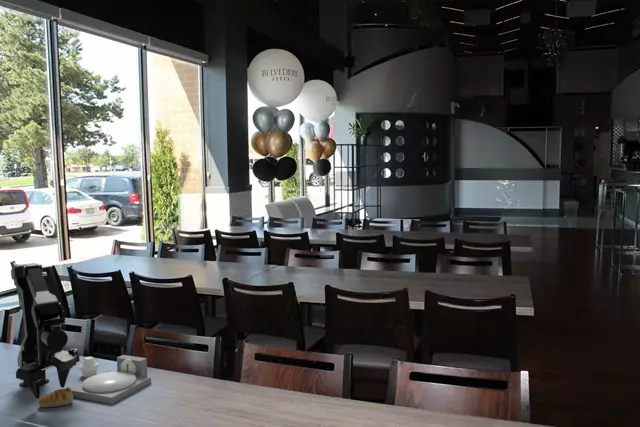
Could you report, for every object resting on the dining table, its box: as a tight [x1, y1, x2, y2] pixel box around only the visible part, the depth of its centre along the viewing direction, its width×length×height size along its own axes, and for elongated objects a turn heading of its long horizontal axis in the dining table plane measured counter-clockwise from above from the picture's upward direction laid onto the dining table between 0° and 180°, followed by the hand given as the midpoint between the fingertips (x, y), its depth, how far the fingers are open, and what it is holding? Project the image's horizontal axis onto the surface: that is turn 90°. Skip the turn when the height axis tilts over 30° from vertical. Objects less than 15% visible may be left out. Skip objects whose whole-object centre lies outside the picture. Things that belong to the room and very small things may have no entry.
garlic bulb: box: [79, 356, 100, 378], centre depth 193 cm, size 6×6×7 cm
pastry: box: [38, 387, 74, 408], centre depth 170 cm, size 9×7×4 cm
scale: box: [69, 354, 152, 405], centre depth 183 cm, size 18×21×7 cm
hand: (50, 392), depth 171 cm, fingers open, 9 cm apart
